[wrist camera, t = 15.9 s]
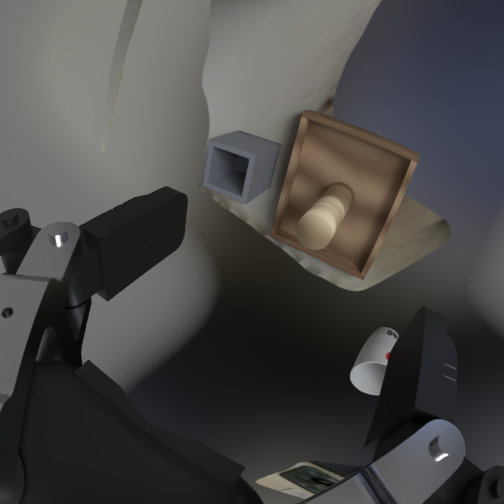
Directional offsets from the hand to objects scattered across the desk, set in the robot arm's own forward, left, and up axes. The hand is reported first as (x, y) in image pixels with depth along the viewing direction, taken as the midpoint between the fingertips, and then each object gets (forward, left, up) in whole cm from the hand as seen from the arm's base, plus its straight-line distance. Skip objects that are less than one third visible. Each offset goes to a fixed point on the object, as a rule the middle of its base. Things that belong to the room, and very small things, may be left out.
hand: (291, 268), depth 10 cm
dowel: (+11, -3, -35) cm, 37 cm away
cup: (+32, +14, -36) cm, 50 cm away
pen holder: (+11, -17, -36) cm, 42 cm away
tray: (+11, -3, -36) cm, 38 cm away
